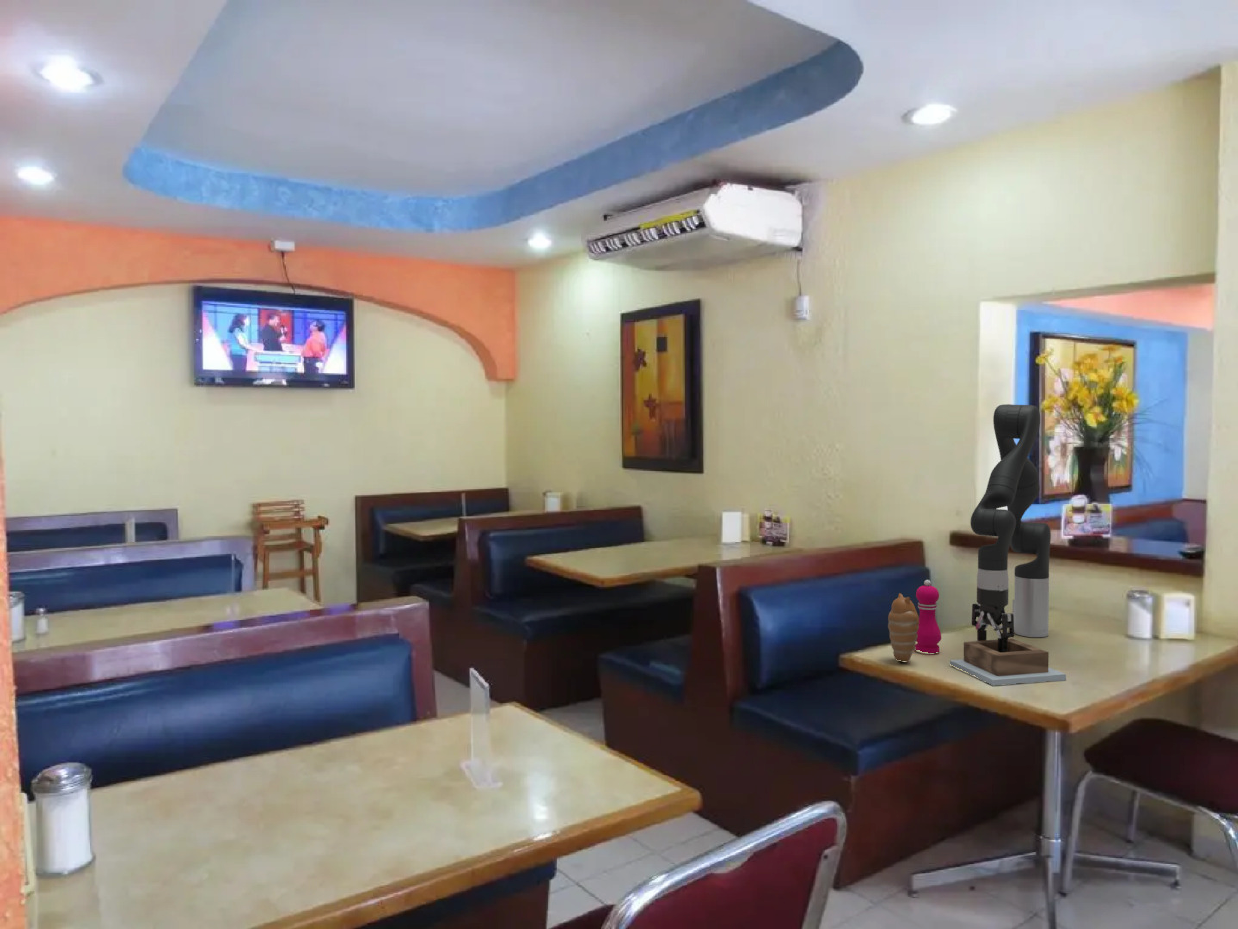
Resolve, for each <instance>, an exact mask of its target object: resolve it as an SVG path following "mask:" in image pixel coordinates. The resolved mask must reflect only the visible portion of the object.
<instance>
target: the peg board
mask: <svg viewBox="0 0 1238 929" xmlns="http://www.w3.org/2000/svg"><path fill="white" fill-rule="evenodd" d="M950 664H951V665H953V666H955V667H957V668H959V669H962V670H963V671H966V672H968V673H969V674H971V675H975V676H976V677H978V678H979V679H981V680H982V681H981V680H980V681H981V682H983V681H986V682H987V683H989V684H991V685H993V686H992V687H996V686H995V685H1002V684H1014V685H1017V684H1016V683H1027V684H1035V683H1034V682H1039V683H1047V682H1046V681H1051V682H1059V681H1060V682H1062V681H1067V674H1066V673H1064V672H1061V671H1059V670H1057V669H1054V668H1052V667H1050V666H1048V672H1045V673H1033V674H1020V675H1008V676H996V675H994V674H992V673H989V672H987V671H985V670H983V669H980V668H978V667H976V666H974V665H972V664H969V663H967V662H965V661H964V658H961V659H950V660H949V665H950ZM979 679H978V680H979ZM987 683H986V684H987ZM989 684H988V685H989ZM991 685H990V686H991ZM1002 686H1003V685H1002Z"/></svg>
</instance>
